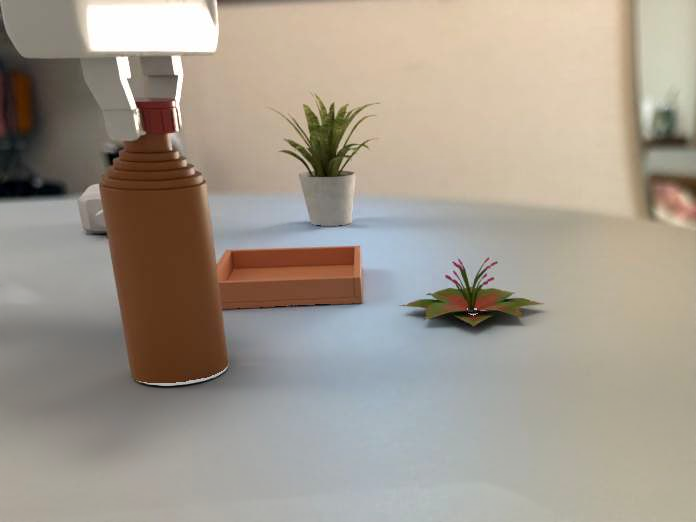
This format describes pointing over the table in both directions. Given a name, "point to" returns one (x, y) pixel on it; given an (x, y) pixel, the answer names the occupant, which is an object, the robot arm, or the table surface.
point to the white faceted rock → (92, 210)
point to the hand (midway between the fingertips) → (148, 136)
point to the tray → (290, 276)
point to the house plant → (327, 164)
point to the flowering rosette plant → (471, 299)
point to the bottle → (164, 263)
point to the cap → (159, 114)
